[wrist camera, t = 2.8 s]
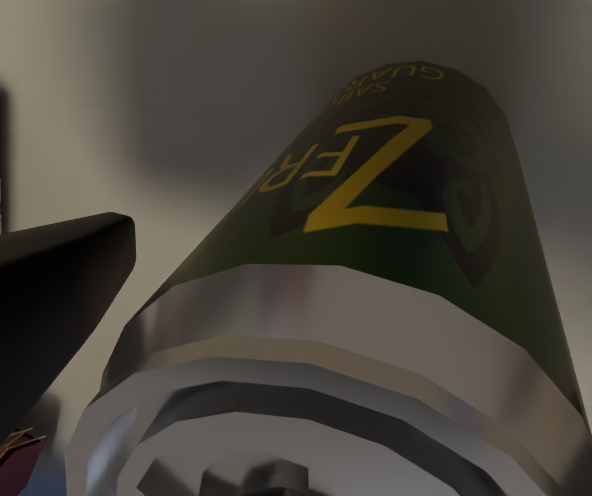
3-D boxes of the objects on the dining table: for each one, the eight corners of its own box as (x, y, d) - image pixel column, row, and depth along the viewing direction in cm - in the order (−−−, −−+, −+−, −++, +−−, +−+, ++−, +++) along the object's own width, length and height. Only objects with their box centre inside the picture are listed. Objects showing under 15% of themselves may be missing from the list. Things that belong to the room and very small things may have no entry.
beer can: (548, 193, 15) (739, 740, 4) (376, 268, 17) (245, 730, 7) (454, 11, 13) (421, 207, 3) (281, 122, 16) (-55, 432, 6)
